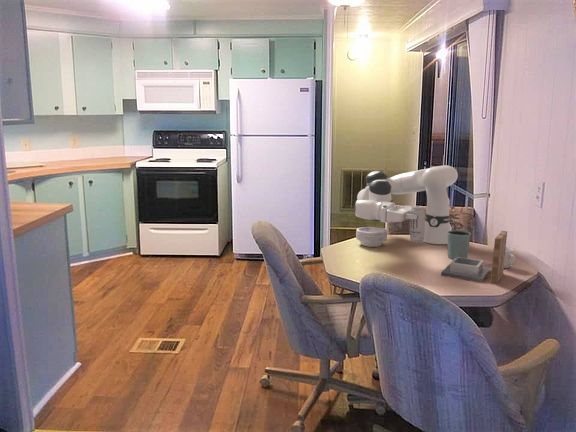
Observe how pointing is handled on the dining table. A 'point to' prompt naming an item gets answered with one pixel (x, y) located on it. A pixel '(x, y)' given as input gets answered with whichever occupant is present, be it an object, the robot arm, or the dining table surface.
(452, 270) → the grey fixture base
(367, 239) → the paper bowls
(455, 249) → the green tapered pot
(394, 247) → the dining table surface
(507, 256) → the cup
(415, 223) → the energy drink can
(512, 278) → the dining table surface
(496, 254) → the door panel
